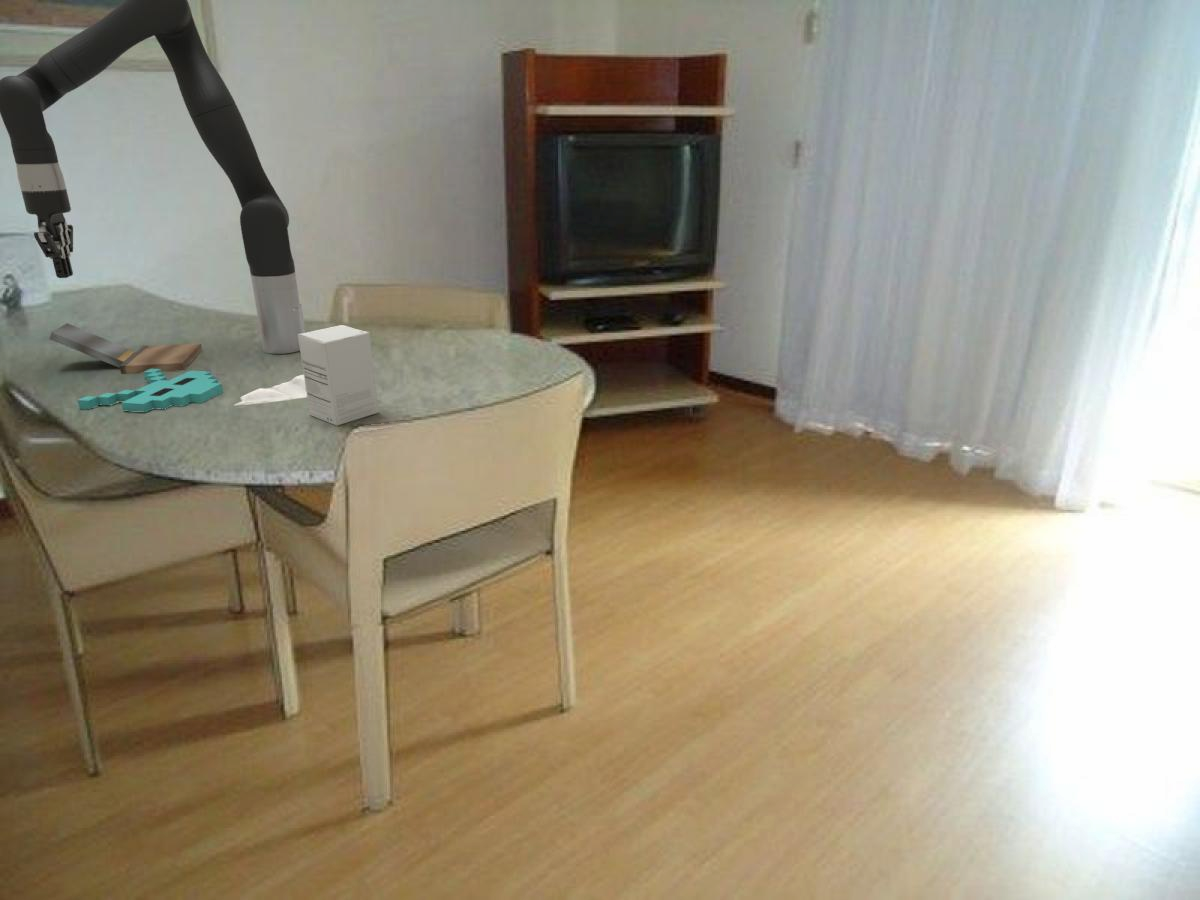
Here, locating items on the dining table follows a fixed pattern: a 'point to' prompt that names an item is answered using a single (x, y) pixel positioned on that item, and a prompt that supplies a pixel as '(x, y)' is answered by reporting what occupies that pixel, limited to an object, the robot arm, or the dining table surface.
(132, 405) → the alien figure
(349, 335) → the supplement box
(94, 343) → the grey flat plate
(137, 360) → the laid floor board
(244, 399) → the cloth
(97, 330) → the dining table surface
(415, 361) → the dining table surface
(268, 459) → the dining table surface
